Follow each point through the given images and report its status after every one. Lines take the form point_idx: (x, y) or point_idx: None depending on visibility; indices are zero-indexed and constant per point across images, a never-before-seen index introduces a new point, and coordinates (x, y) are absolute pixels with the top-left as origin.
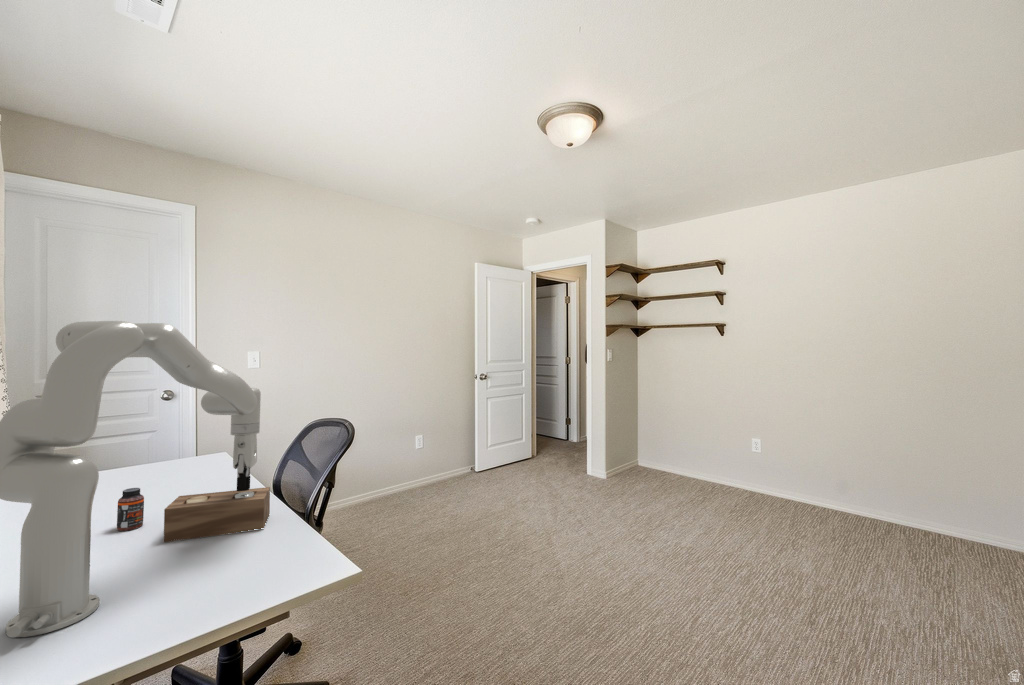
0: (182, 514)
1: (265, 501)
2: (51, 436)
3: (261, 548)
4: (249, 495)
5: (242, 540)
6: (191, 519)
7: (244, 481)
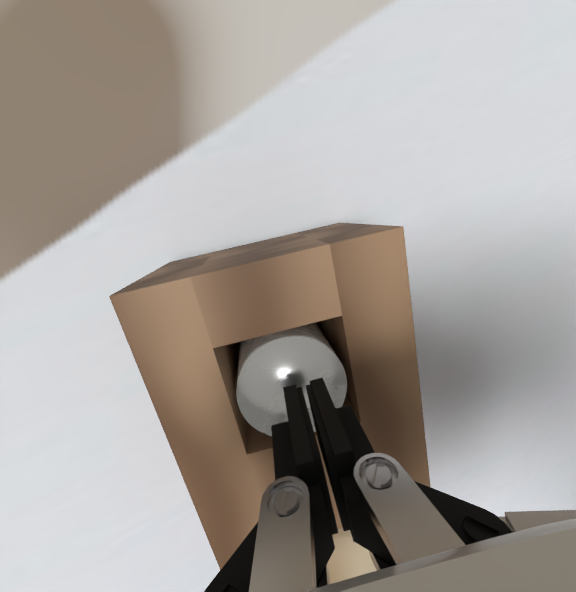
0: None
1: (321, 240)
2: None
3: (522, 158)
4: (327, 348)
5: (429, 259)
6: None
7: (370, 446)
